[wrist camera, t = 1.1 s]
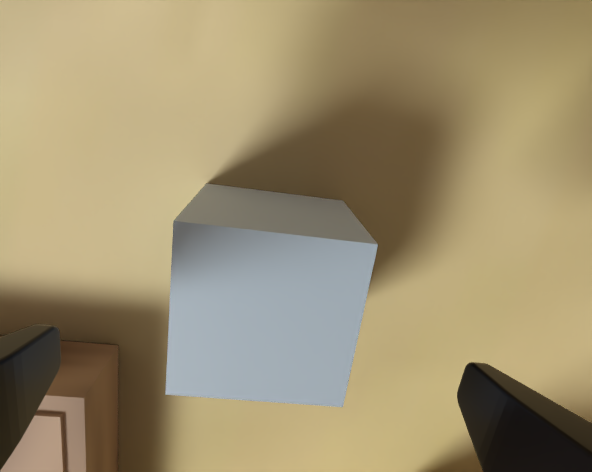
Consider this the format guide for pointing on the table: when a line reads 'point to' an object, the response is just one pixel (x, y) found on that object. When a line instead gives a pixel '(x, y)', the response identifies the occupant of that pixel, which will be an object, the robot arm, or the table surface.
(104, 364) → the pedestal
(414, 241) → the table surface
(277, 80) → the table surface
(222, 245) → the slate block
